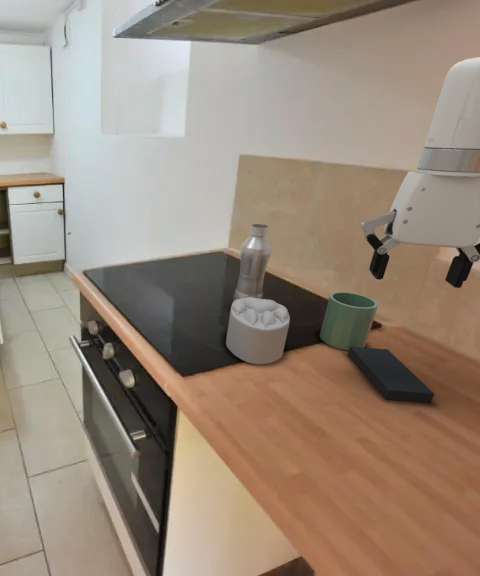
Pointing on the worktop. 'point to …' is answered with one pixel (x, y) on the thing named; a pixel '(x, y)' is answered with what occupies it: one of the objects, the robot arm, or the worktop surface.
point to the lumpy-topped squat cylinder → (257, 330)
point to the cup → (348, 320)
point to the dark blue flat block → (390, 375)
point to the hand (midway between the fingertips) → (413, 280)
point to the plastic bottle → (253, 263)
